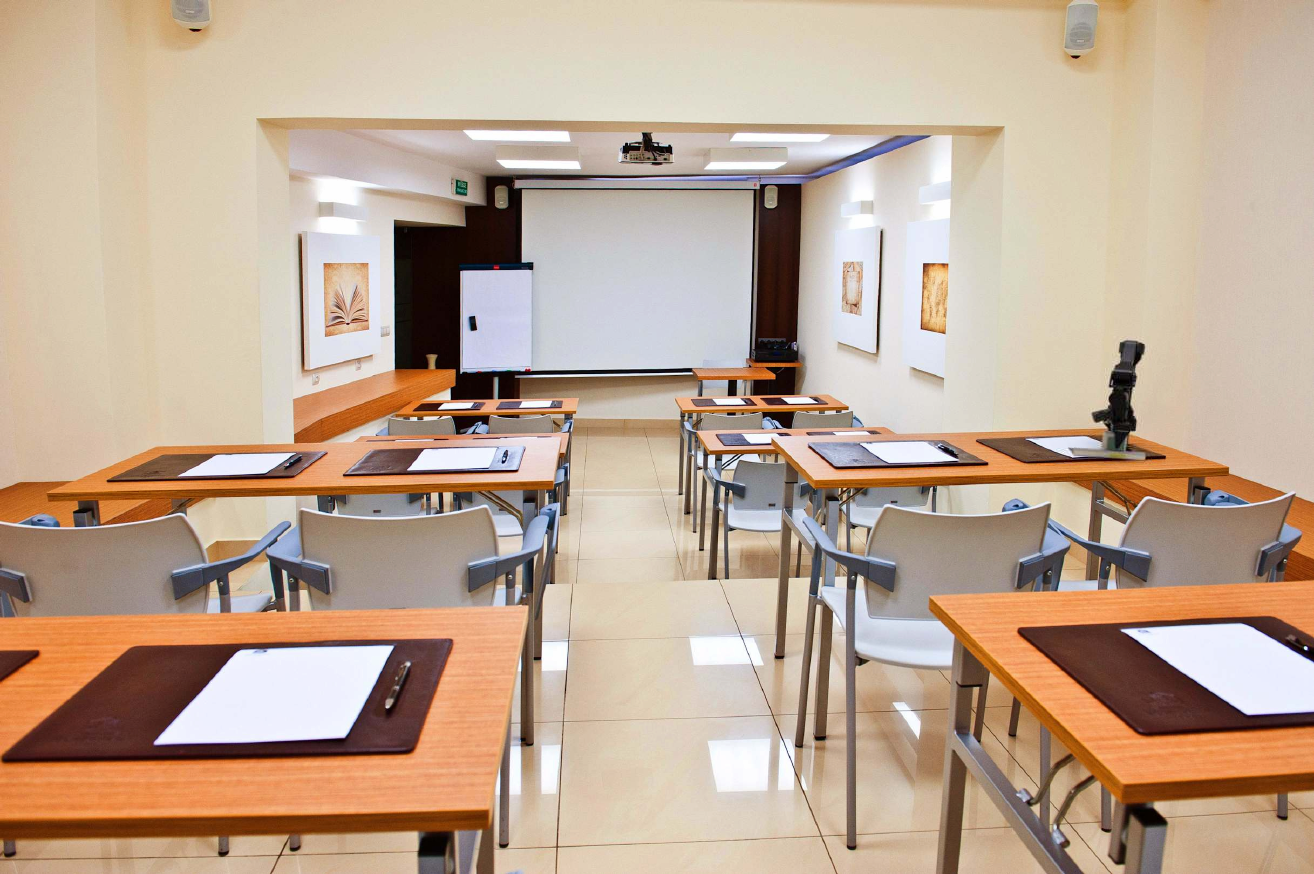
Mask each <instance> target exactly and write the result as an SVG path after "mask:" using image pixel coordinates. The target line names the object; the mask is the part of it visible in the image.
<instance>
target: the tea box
mask: <svg viewBox="0 0 1314 874" xmlns="http://www.w3.org/2000/svg"><path fill="white" fill-rule="evenodd" d="M1127 437H1128V436H1127ZM1127 437H1126V438H1125V440H1124V441H1123V443H1122V444H1121V446H1120V447H1119V449H1116V448H1115V439H1114V433H1113V432H1112V431H1108V430H1103V432H1102V439H1101V440H1102V441H1101V446H1100V447H1101V448H1100V449H1102V450H1116V451H1127V445H1128V444H1127Z"/></svg>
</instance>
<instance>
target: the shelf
mask: <svg viewBox="0 0 1314 874" xmlns="http://www.w3.org/2000/svg"><path fill="white" fill-rule="evenodd" d="M1068 450H1069V451H1070V453H1071V454H1072V455H1074V456H1078V457H1080V456H1081V457H1094V458H1106V459H1108V458H1109V459H1119V460H1132V461H1133V460H1134V461H1145V460H1146V453H1145V452H1141V451H1127V450H1126V451H1116V450H1102V449H1101V448H1099V449H1098V448H1084V447H1068Z"/></svg>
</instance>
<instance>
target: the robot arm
mask: <svg viewBox="0 0 1314 874" xmlns="http://www.w3.org/2000/svg"><path fill="white" fill-rule="evenodd" d="M1118 345H1119V347H1118V354H1120V356H1119V358H1120V360H1119V362H1118V363H1117V364H1115V365H1114V367H1113V370H1111V373H1110V377H1109V383H1108V388H1112V391H1111V392H1110V394H1109V396H1108V403H1109V404H1108V405H1107V408H1105V409H1101V410H1096V411H1092V412H1091V417H1092V421H1093V422H1094V423H1096V424H1098V423H1101V422H1103V425H1104V426H1105V427H1106V428H1107V431H1112V432H1113V433H1114V439H1115V448H1116V449H1119V447H1120V446H1121V444H1122V443H1123V441H1124V440H1125V438H1126V437H1127V436H1128V437H1127V444H1126V445H1129V439H1130V433H1131V432H1132V433H1133V432H1136V431H1137V424H1138V423H1137V418H1136V415H1135V410H1134V408H1133V405H1132V396H1133V390H1134V388H1136V385H1137V384H1136V383H1137V380H1138V375H1137V373H1136V368H1137V365H1138V364H1139V362H1140V361H1142V359H1143V358H1142V357H1143V356H1145V350H1146V343H1143V342H1141V341H1138V340H1131V339H1130V340H1129V339H1125V340H1123V341H1121V342H1119V344H1118Z"/></svg>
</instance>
